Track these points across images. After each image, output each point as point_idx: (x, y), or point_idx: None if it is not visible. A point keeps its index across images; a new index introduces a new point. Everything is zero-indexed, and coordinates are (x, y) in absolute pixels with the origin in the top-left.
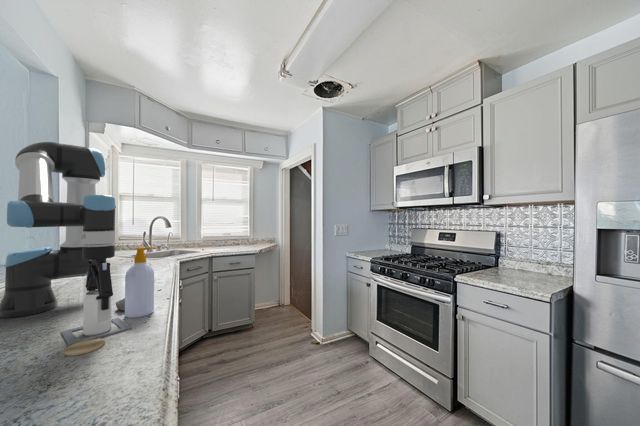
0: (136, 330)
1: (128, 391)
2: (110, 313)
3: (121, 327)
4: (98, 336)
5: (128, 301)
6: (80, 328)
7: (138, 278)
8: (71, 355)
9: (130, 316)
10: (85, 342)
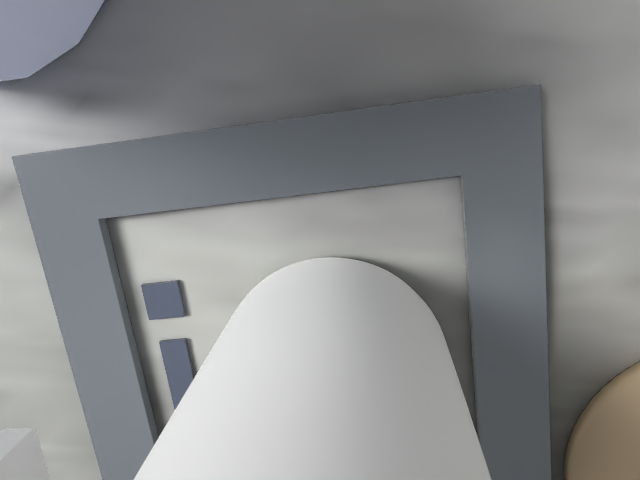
0: (632, 46)
1: None
2: (399, 350)
3: (433, 175)
4: (537, 374)
5: None
6: None
7: None
8: None
9: (78, 35)
10: (630, 468)
